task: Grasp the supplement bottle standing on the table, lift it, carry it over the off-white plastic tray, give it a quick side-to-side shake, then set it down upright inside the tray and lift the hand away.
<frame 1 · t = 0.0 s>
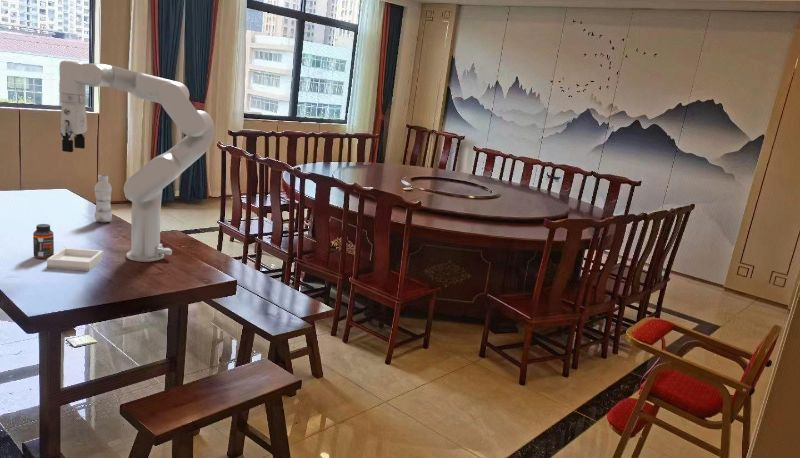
hand: (73, 149, 199), 37 cm above the table, tool pointing down, fingers open, 9 cm apart
plastic bottle: (103, 222, 247), on the table
supplement bottle: (43, 257, 199), on the table
tray: (76, 263, 197), on the table
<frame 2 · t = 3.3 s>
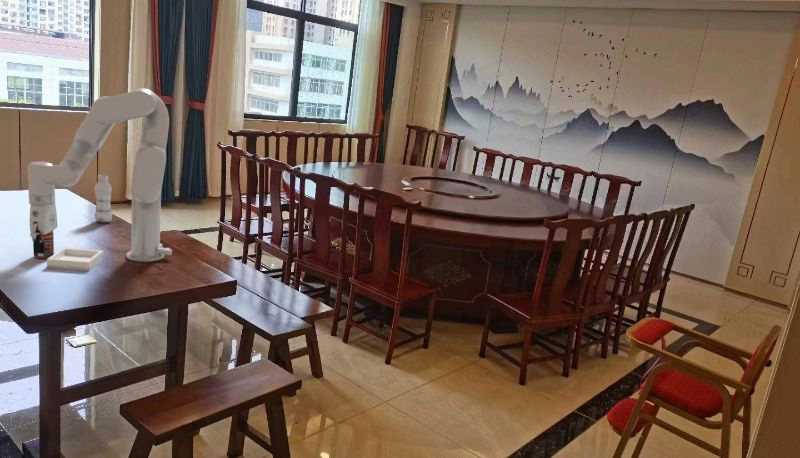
hand: (43, 249, 199), 3 cm above the table, tool pointing down, fingers closed on supplement bottle, 6 cm apart
supplement bottle: (43, 257, 199), on the table, touching gripper
everything else where it was.
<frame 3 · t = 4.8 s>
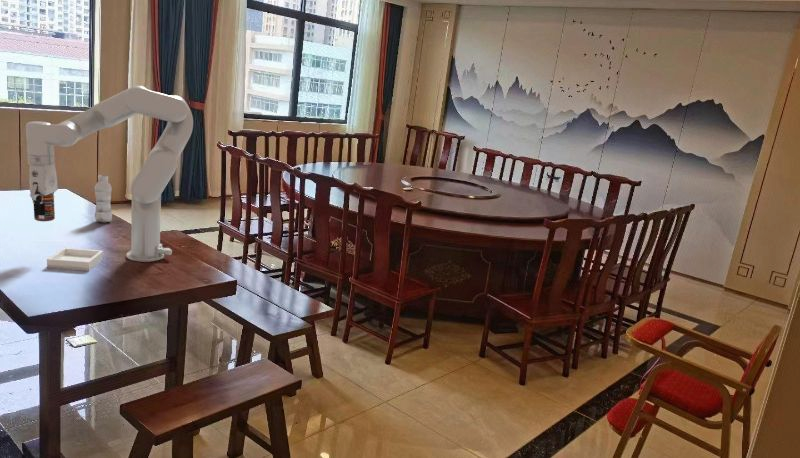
hand: (44, 212, 196), 16 cm above the table, tool pointing down, fingers closed on supplement bottle, 6 cm apart
supplement bottle: (44, 220, 196), point 13 cm above the table, touching gripper
everything else where it was.
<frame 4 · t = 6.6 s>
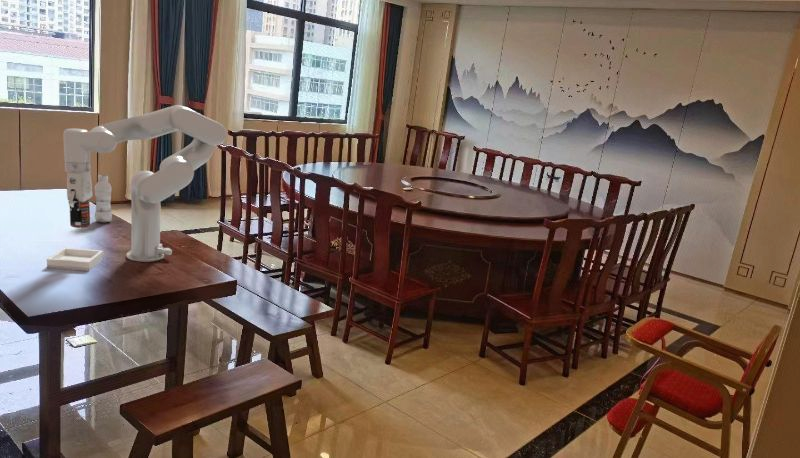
hand: (80, 218, 196), 15 cm above the table, tool pointing down, fingers closed on supplement bottle, 6 cm apart
supplement bottle: (80, 226, 197), point 12 cm above the table, touching gripper
everything else where it was.
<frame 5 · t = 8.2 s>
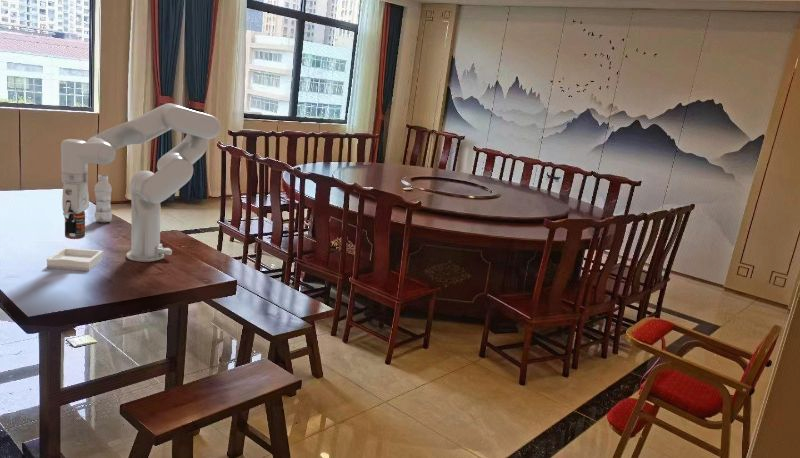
hand: (75, 229, 194), 12 cm above the table, tool pointing down, fingers closed on supplement bottle, 6 cm apart
supplement bottle: (75, 237, 195), point 9 cm above the table, touching gripper
everything else where it was.
when the fingers open (5 cm above the table, at t = 9.8 s): supplement bottle drops 1 cm, resting on tray.
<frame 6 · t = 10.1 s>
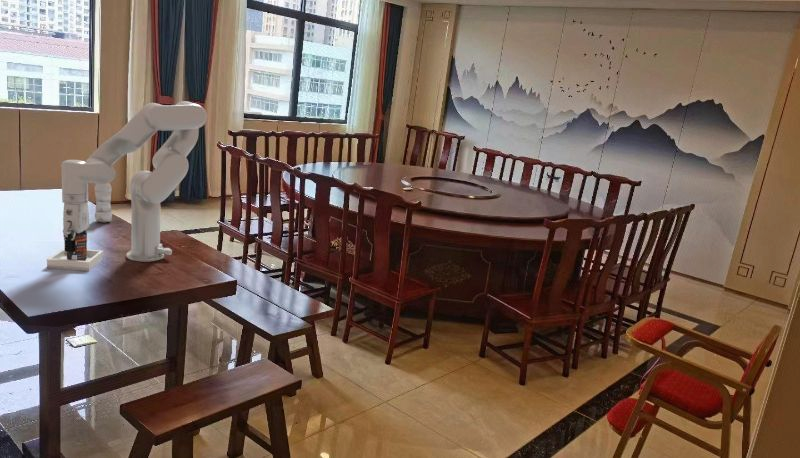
hand: (76, 247, 196), 6 cm above the table, tool pointing down, fingers open, 9 cm apart
supplement bottle: (77, 260, 197), point 1 cm above the table, touching tray
everything else where it was.
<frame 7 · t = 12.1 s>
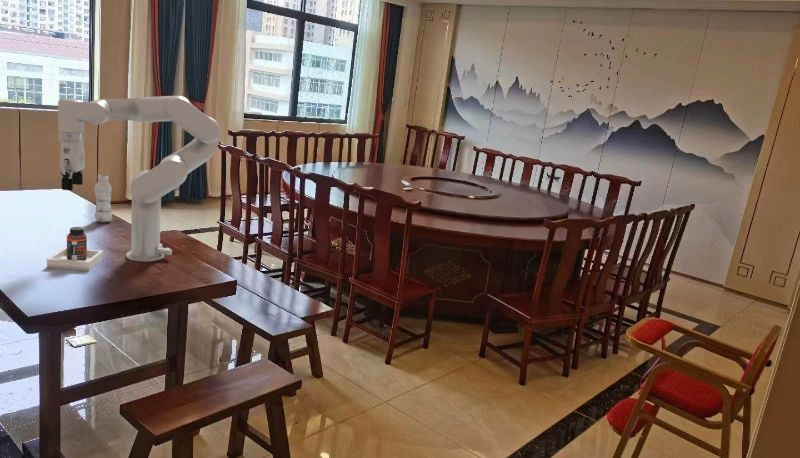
hand: (72, 187, 197), 25 cm above the table, tool pointing down, fingers open, 9 cm apart
nothing on the table moved.
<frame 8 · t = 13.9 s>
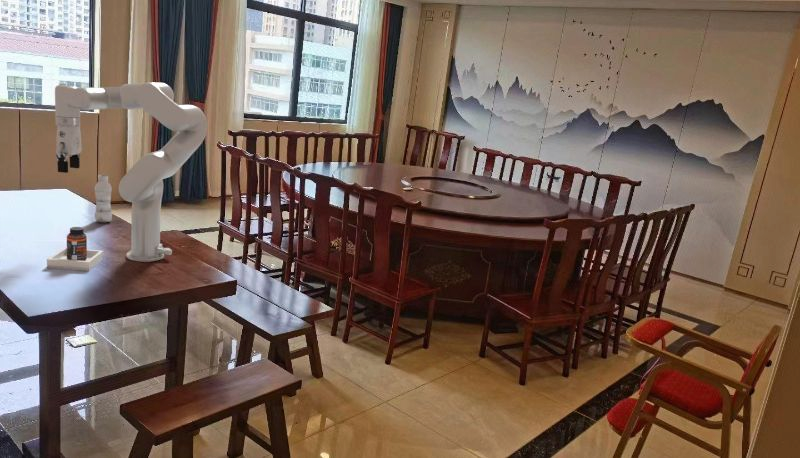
hand: (69, 170, 206), 28 cm above the table, tool pointing down, fingers open, 9 cm apart
nothing on the table moved.
at the end: supplement bottle inside the target area on the tray (0.3 cm from its centre), point 0.8 cm above the tray's base; supplement bottle tilted 0°; the gripper is holding nothing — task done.
